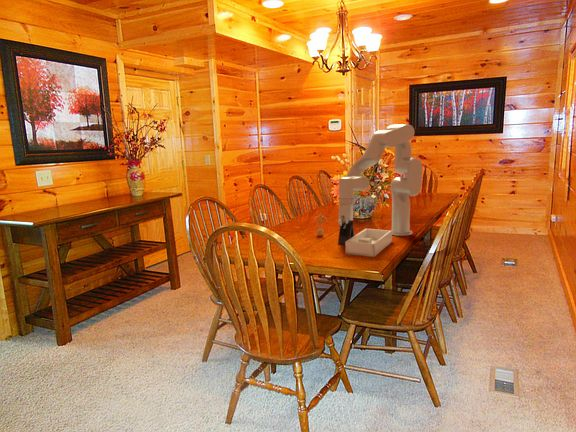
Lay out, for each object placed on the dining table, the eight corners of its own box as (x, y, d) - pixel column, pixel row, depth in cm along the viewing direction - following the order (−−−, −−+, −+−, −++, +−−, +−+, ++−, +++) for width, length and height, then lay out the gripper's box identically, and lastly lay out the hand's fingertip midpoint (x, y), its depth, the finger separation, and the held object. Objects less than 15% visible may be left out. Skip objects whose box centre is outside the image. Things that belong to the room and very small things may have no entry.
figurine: (312, 236, 240) (311, 215, 238) (314, 234, 245) (313, 213, 243) (326, 236, 238) (326, 215, 236) (328, 234, 243) (328, 213, 241)
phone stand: (344, 240, 229) (344, 218, 227) (355, 241, 226) (355, 219, 224) (337, 244, 222) (337, 221, 219) (348, 245, 218) (348, 222, 216)
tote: (365, 239, 229) (365, 228, 228) (391, 241, 222) (391, 230, 221) (345, 253, 203) (345, 241, 202) (374, 257, 197) (374, 244, 195)
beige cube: (361, 247, 210) (361, 237, 209) (371, 248, 208) (371, 238, 207) (358, 249, 206) (358, 239, 205) (368, 250, 203) (368, 240, 202)
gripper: (345, 198, 229) (345, 230, 232) (333, 203, 214) (333, 236, 217) (359, 199, 225) (358, 231, 228) (347, 204, 210) (347, 238, 214)
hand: (346, 233), depth 223 cm, fingers open, 9 cm apart
